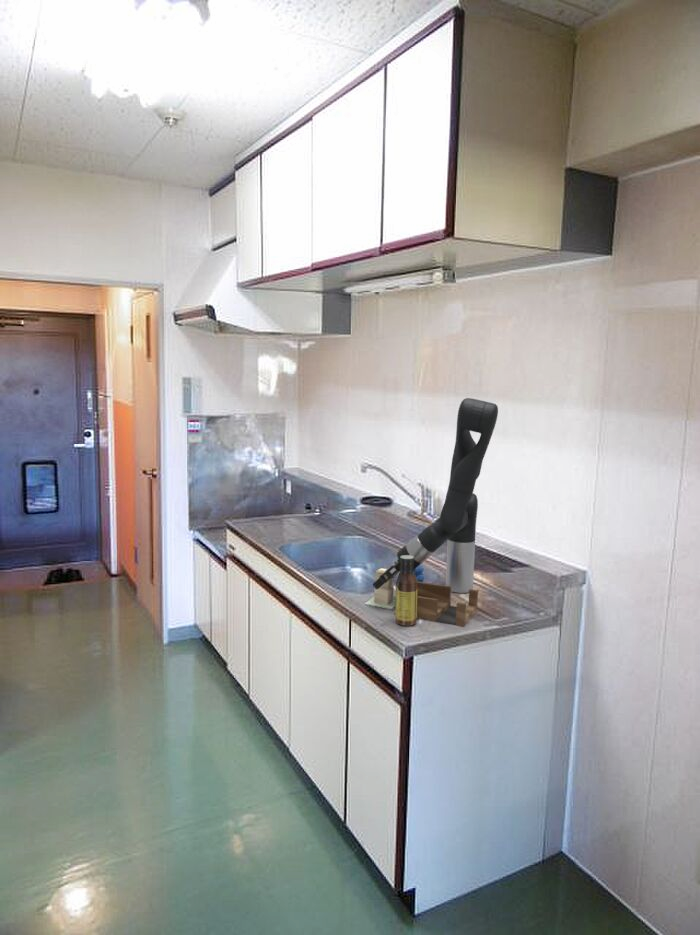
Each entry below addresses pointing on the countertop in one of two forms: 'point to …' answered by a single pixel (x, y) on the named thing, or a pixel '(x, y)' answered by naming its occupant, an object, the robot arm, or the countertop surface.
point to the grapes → (419, 574)
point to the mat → (389, 606)
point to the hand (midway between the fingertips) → (379, 583)
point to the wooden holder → (443, 605)
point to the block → (383, 589)
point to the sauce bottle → (406, 593)
